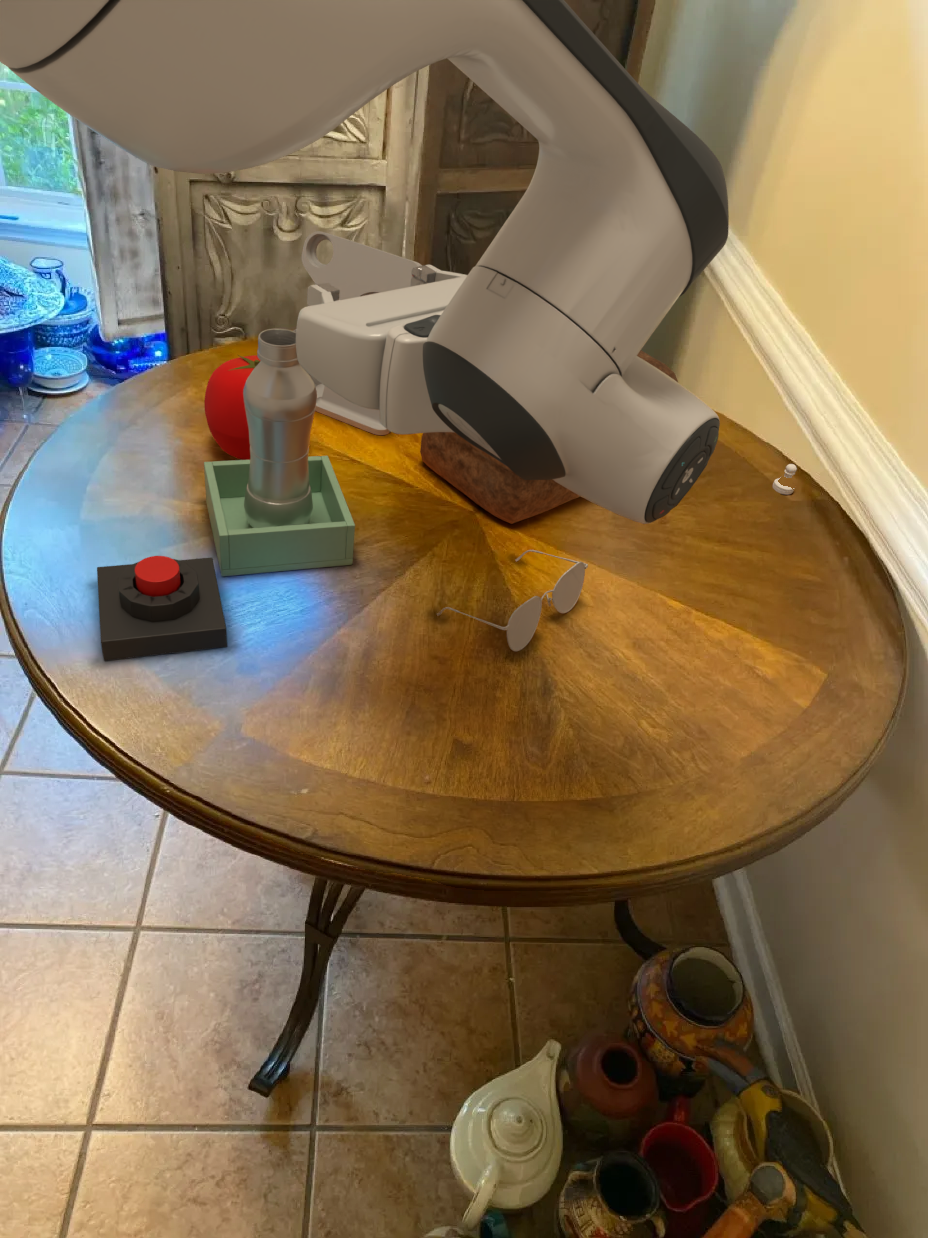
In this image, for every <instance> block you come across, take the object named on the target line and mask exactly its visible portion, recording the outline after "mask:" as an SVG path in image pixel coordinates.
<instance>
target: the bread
mask: <svg viewBox="0 0 928 1238" xmlns="http://www.w3.org/2000/svg"><path fill="white" fill-rule="evenodd" d="M637 356H638V357H640V358H641V359H643V360H645V361H646V362H648V363H649V364H651V365H653V366H654V367H656V368H657V369H659V370H660V371H662V372H663V373H665V374H666V375H668V376H669V377H671V378H672V379H674V380H675V381H677V382H678V383H679V380H678V378H677V376H676V373H675V372H674V370H672V369H671V368H670V367H669V366H668V365H667V364H666V363H664V362H662V361H660V360H659V359H657V358H656V357H653V356H652V355H650V354H648V353H647V352H645V351H643V350H642V349H641V350H640V352H639V353H638V354H637ZM419 454H420V457H421V461H422V462H423V463H424V464H425V465H426V466H427V467H428V468H430V470H432V471H433V472H434V473H435V474H437V475H438V476H440V477H441V478H442V479H444V480H445V481H446V482H448V483H449V484H450V485H452V486H453V487H454V488H456V489H457V490H458V491H460V492H461V493H462V494H464V495H465V496H466V497H467V498H469V499H470V500H471V501H473V502H474V503H475V504H476V505H477V506H479V507H481V508H482V509H483V510H484V511H486V512H488V513H489V514H491V515H492V516H494V517H496V518H497V519H499V520H501V521H503V522H506V523H507V524H510V525H512V524H515V523H518V522H520V521H523V520H526V519H530V518H532V517H535V516H537V515H540V514H542V513H544V512H547V511H550V510H552V509H554V508H556V507H559V506H561V505H563V504H565V503H568V502H570V501H572V500H575V499H578V498H582V497H581V496H579V495H577V494H576V493H574V492H572V491H570V490H569V489H567V488H565V487H564V486H562V485H560V484H559V483H557V482H555V481H554V480H552V479H551V480H524V479H522V478H520V477H519V476H518V475H516V474H515V473H514V472H513V471H512V470H511V469H510V468H509V467H507V466H506V465H504V464H503V463H501V462H500V461H498V460H497V459H495V458H494V457H492V456H490V455H489V454H487V453H485V452H484V451H482V450H480V449H479V448H477V447H475V446H474V445H472V444H470V443H469V442H467V441H466V440H465V439H463V438H462V437H460V436H459V435H458V434H456V433H454V432H430V433H422V434H421V441H420V449H419Z"/></svg>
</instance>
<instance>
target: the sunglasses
mask: <svg viewBox="0 0 928 1238" xmlns="http://www.w3.org/2000/svg"><path fill="white" fill-rule="evenodd" d="M530 552H532V553H536V554H541V555H546V556H550V557H554V558H557V559H559V560H564V561H567V562H571V563H574V564H573V565H572V566H571V567H569V569H567V570H566V571H565V572H564V573H563V574H562V575H561V576H560V577H559V578H558V580H557V581H556V583H555V585H554V587H553V589H549V590H547V591H545V592H544V593H543V595H542V596H541V597H540V596H538V595H534V596H532V597H531V598H529V599H528V600H526V601H524V603H522V604H521V605H519V606H518V607H517V608H515V610H514V611H513V612H512V614H511V615H510V617H509V619H508V622H507V625H505V626H501V625H499V624H496V623H493V622H490V621H487V620H484V619H482V618H478V617H476V616H473V615H470V614H467V613H464V612H461V611H460V610H458V609H455V608H452V607H449V606H446V607H443V608H442V609H441V610H440V611H439V612H438V613H436V616H437V617H440V616H441V615H442V613H443V612H444V611H445V610H449V611H453V612H455V613H458V614H461V615H464V616H467V617H469V618H472V619H474V620H477V621H479V622H481V623H484V624H487V625H489V626H491V627H494V628H497V629H499V630H502V631H506V641H507V644H508V647H509V648H510V650H511V651H513V652H519V651H521V650H523V649H524V648H526V646H528V644H529V643H530V642H531V640H532V638H533V637H534V635H535V632H536V630H537V628H538V625H539V622H540V618H541V614H542V607H543V599H544V598H545V596H546V601H547V604H548V606H549V607H551V602H552V605H553V607H554V609H555V610H556V611H557V612H558V613H560V614H566V613H568V612H570V611H571V610H573V608H574V607H575V605H576V604H577V603H578V600H579V598H580V596H581V593H582V591H583V587H584V582H585V575H586V570H587V569H588V567H589V564H588V563H585V562H583V561H577V560H574V559H570V558H565V557H561V556H557V555H553V554H550V553H545V552H543V551H539V550H534V549H528V550H526V551H524V552H522V553H521V555H519V556H518V557H517V558H515V559H514V560H515V562H516V563H517V562H518V561H520V559H522V558H523V556H525V555H526V554H527V553H530ZM549 593H551V597H549Z"/></svg>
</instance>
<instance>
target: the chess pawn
mask: <svg viewBox="0 0 928 1238" xmlns="http://www.w3.org/2000/svg"><path fill="white" fill-rule="evenodd" d="M797 470H798V468H797V465H795V464H794V463H789V464H787V465H786V466H785V469H784V474H783V475H784V477H786V478H792V479H793V476H794V475H796V472H797ZM780 478H781V477H778V478H775V479H774V481H773V483H772V485H771V486H772V489H773V490H774V491H775V492H776V493H779V494H780V495H791V494H793V492H794V491H795V488H793V489H794V490H793V489H792V488H791V487H788V486H783V485H781V484H780V483H779V482H778V480H779V479H780Z"/></svg>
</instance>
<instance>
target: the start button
mask: <svg viewBox="0 0 928 1238" xmlns="http://www.w3.org/2000/svg"><path fill="white" fill-rule="evenodd" d="M174 559H175V558H171V557H169V556H165V555H151V556H148V557H145V558H143V559H141V560H139V561H140V562H139V561H137V562H138V564H137V565H136V567H135V577H136V585H137V589H138V590H139V592H140V593H142V594H143V595H147V596H152V597H157V596H167V595H169V594H171V593H174V592H176V591H177V590H178V589H179V587H180V584H181V582H180V570H179V565H178V563H177V562H176V561H175V560H174Z"/></svg>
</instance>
